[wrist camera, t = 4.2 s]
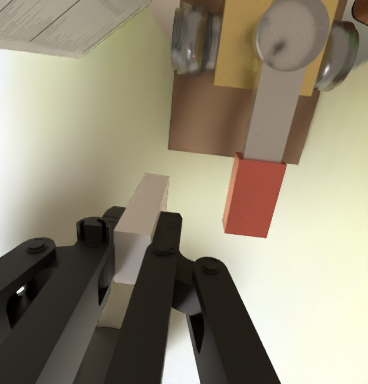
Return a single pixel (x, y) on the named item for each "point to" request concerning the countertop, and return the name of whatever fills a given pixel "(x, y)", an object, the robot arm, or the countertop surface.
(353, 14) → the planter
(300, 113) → the board
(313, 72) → the valve
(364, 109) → the countertop surface
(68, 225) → the countertop surface
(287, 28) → the lever
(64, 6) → the supplement box
